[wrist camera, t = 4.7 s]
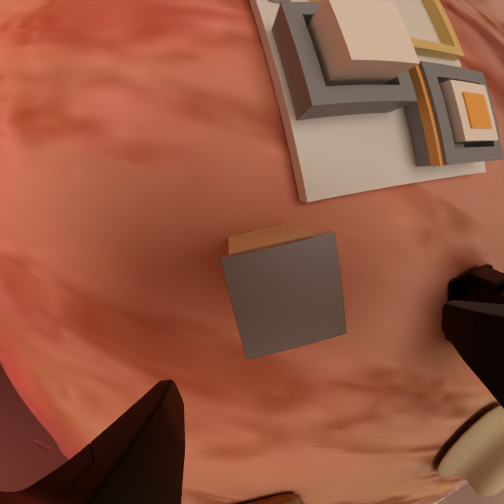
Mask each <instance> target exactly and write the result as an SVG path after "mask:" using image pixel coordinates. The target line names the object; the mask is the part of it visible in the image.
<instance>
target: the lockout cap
mask: <svg viewBox="0 0 504 504" xmlns="http://www.w3.org/2000/svg"><path fill="white" fill-rule="evenodd" d="M228 247H229V254H228V255H224V256H221V263H222V267H223V271H224V275H225V279H226V283H227V287H228V291H229V295H230V299H231V303H232V307H233V311H234V315H235V318H236V322H237V326H238V330H239V333H240V337H241V341H242V344H243V348H244V352H245V355H246V359H251V358H255V357H260V356H264V355H268V354H273V353H277V352H281V351H285V350H289V349H293V348H297V347H300V346H304V345H308V344H311V343H315V342H319V341H322V340H326V339H329V338H332V337H336V336H339V335H342V334H346V333H347V331H346V320H345V310H344V300H343V291H342V282H341V274H340V267H339V259H338V252H337V245H336V238H335V233H333V232H330V231H329V232H325V233H321V234H314V233H312V232H310V231H308V230H306V229H305V228H303V227H301V226H299V225H297V224H295V223H293V222H290V223H285V224H281V225H276V226H272V227H267V228H263V229H258V230H254V231H249V232H245V233H241V234H236V235H232V236H228Z"/></svg>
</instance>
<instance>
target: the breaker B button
mask: <svg viewBox="0 0 504 504" xmlns="http://www.w3.org/2000/svg"><path fill="white" fill-rule="evenodd" d="M307 28H308V31H309V34H310V37H311V40H312V43H313V46H314V49H315V52H316V55H317V58H318V61H319V65H320V68H321V71H322V75H323V78H324V81H325V85H326V86H335V85H360V84H385V83H387V82H388V81H390V80H392V79H393V78H395V77H397V76H399V75H400V74H402V73H404V72H406V71H408V70H409V69H411V68H413V67H415V66H417V65H418V64H420V63H419V60H418V57H417V54H416V52H415V49H414V46H413V44H412V41H411V39H410V36H409V34H408V31H407V29H406V27H405V24H404V22H403V20H402V18H401V16H400V13H399V11H398V9H397V7H396V5H395V3H394V1H388V0H322V1H321V3H320V5H319V6H318V8H317V10H316V12H315V13H314V15H313V17H312V19H311V21H310V22H309V24H308V26H307Z"/></svg>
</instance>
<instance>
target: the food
mask: <svg viewBox="0 0 504 504" xmlns="http://www.w3.org/2000/svg"><path fill="white" fill-rule="evenodd" d="M245 504H305V503H304V502H303V501H302V500H301V499H300V498H298V497H297V496H296V495H294V494H282V495H278V496H273V497H270V498H266V499H262V500H258V501H253V502H249V503H245Z"/></svg>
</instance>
